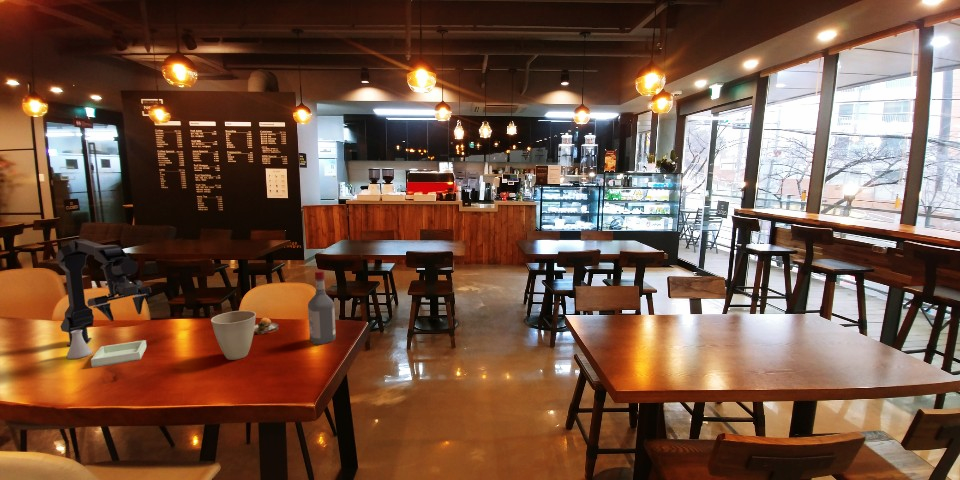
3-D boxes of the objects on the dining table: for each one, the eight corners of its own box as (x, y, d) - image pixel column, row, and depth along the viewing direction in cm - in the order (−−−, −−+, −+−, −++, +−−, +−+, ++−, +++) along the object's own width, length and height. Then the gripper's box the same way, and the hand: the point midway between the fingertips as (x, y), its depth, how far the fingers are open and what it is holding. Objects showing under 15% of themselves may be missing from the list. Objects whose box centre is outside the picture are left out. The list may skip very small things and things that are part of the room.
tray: (101, 353, 168) (101, 346, 168) (146, 347, 175) (145, 340, 175) (91, 367, 156) (90, 359, 156) (140, 359, 163) (139, 352, 163)
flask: (76, 360, 162) (73, 335, 161) (61, 358, 164) (58, 333, 162) (97, 352, 170) (94, 328, 168) (82, 351, 171) (79, 327, 169)
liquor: (316, 346, 177) (312, 275, 173) (308, 339, 184) (304, 271, 180) (337, 340, 183) (334, 271, 179) (329, 334, 190) (325, 268, 186)
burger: (270, 324, 204) (269, 309, 203) (283, 329, 197) (282, 313, 196) (244, 331, 194) (243, 315, 193) (257, 337, 187) (256, 320, 186)
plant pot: (205, 360, 163) (201, 320, 160) (239, 346, 176) (236, 309, 174) (234, 366, 158) (231, 325, 155) (267, 351, 171) (264, 313, 169)
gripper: (98, 280, 152) (109, 323, 153) (154, 270, 169) (164, 308, 170) (81, 285, 157) (92, 326, 158) (138, 274, 174) (148, 311, 175)
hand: (126, 317), depth 165 cm, fingers open, 9 cm apart
